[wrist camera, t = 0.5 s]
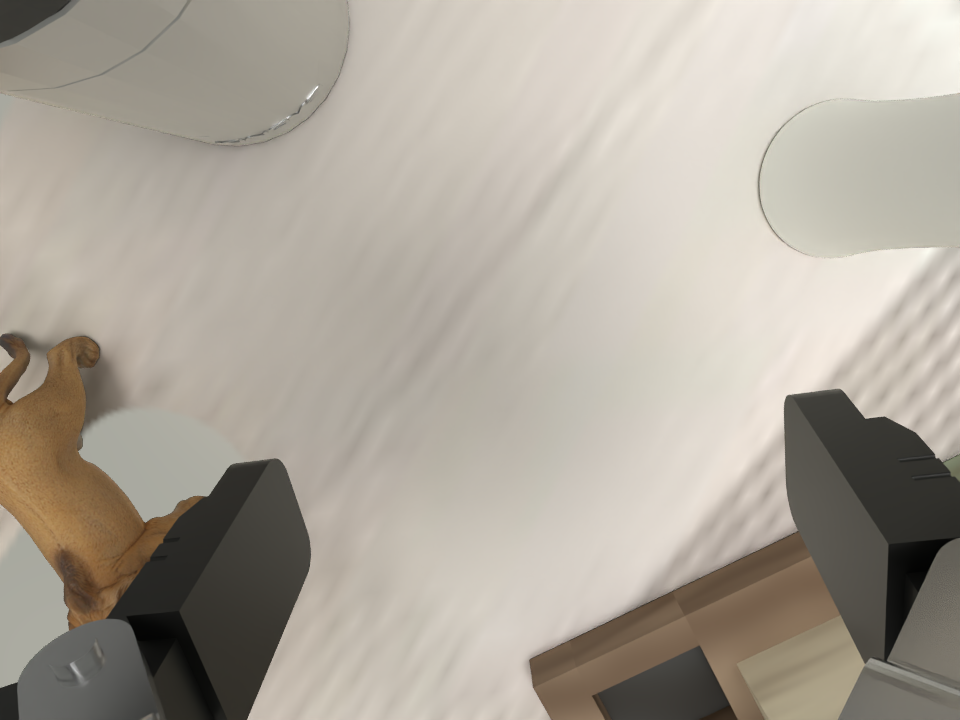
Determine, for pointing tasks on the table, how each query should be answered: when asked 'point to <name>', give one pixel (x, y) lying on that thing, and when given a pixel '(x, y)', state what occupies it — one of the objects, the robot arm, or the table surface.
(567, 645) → the trap box
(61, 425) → the lion figurine
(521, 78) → the table surface
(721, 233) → the table surface
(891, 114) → the cosmetic bottle
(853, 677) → the maple block
